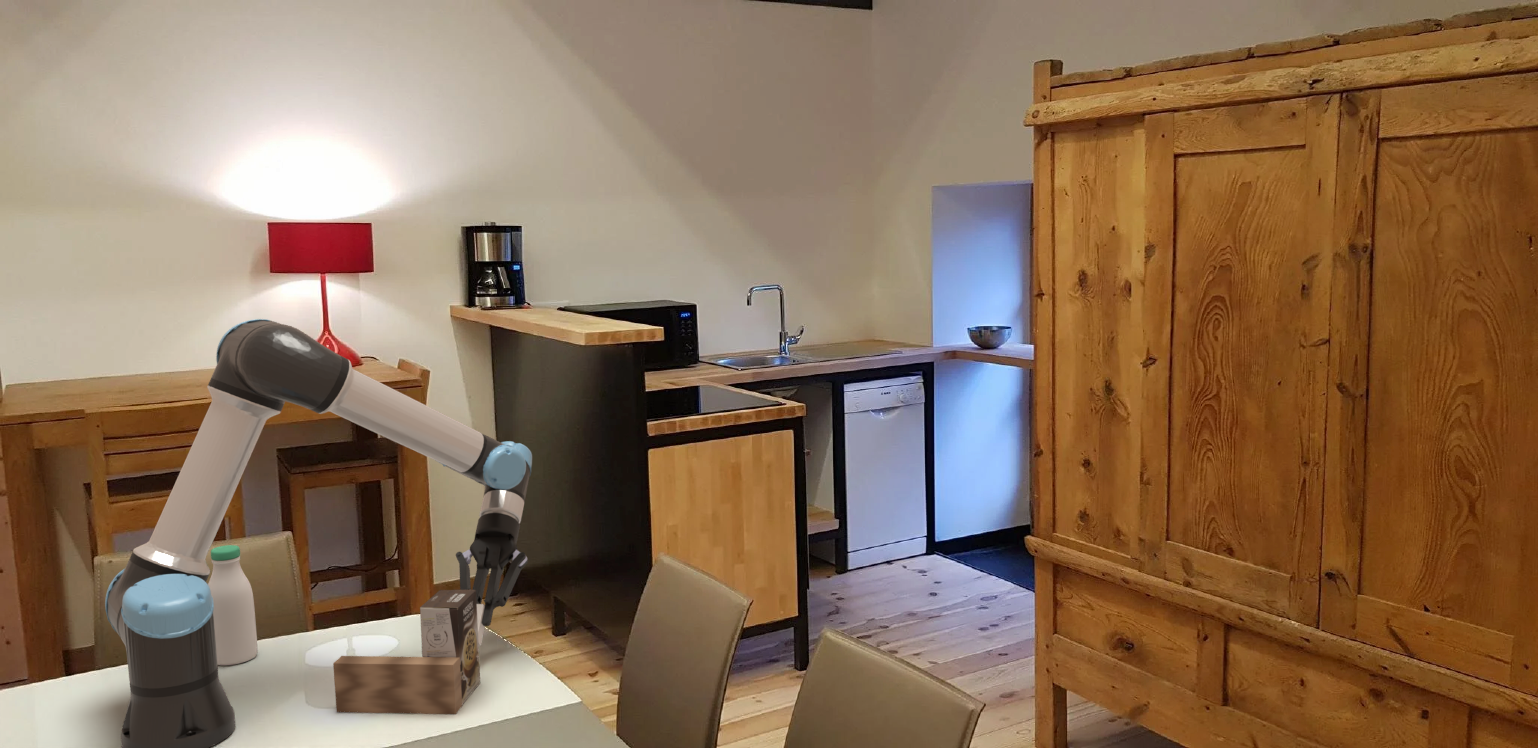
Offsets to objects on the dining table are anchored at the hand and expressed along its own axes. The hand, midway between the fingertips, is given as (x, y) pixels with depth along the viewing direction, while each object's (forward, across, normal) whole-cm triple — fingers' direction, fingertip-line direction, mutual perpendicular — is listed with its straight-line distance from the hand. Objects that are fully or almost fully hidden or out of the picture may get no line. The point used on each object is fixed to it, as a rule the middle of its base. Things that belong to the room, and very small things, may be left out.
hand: (474, 642), depth 194 cm
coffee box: (+11, 0, +4) cm, 11 cm away
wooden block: (+15, +7, +9) cm, 18 cm away
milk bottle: (+2, +44, -5) cm, 45 cm away
